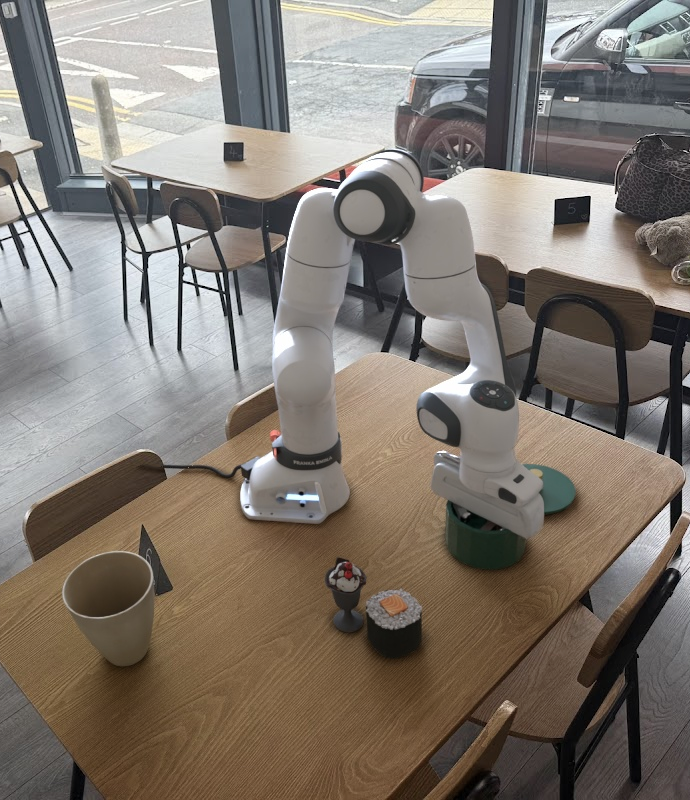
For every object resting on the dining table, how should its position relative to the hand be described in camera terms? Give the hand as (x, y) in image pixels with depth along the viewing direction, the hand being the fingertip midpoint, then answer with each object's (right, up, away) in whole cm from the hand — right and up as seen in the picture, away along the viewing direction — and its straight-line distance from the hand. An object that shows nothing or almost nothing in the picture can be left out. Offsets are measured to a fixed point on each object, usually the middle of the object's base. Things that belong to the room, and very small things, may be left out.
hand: (482, 530), depth 141 cm
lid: (+14, +6, +11) cm, 19 cm away
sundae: (-26, -14, -8) cm, 30 cm away
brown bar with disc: (+1, -2, +2) cm, 3 cm away
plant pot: (-63, -19, -6) cm, 67 cm away
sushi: (-19, -16, -12) cm, 28 cm away
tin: (+1, -3, +2) cm, 4 cm away
